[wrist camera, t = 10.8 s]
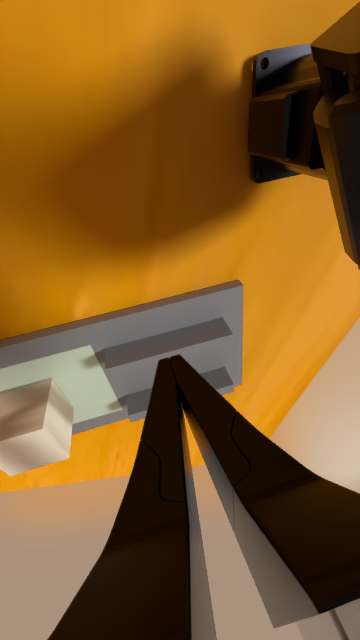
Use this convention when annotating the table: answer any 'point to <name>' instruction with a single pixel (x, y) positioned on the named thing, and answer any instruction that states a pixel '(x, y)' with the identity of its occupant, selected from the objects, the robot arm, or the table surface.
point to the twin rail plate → (131, 353)
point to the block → (34, 427)
